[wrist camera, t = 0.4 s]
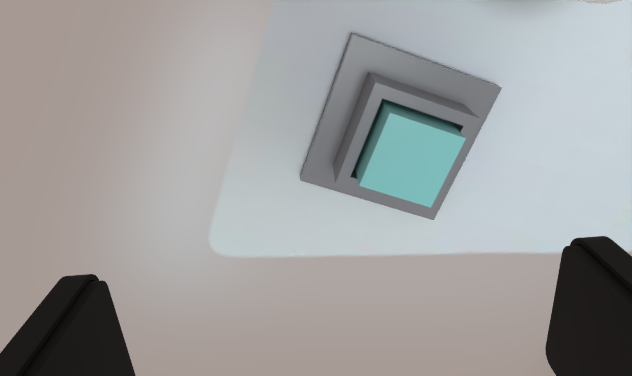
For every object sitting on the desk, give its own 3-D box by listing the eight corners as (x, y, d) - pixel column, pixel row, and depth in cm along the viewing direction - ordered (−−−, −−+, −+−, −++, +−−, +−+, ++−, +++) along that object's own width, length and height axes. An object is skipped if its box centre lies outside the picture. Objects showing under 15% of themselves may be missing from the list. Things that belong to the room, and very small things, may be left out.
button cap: (381, 98, 38) (390, 113, 35) (451, 122, 39) (466, 138, 36) (354, 166, 41) (359, 185, 37) (420, 186, 42) (430, 207, 38)
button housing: (351, 32, 39) (357, 41, 35) (496, 85, 42) (521, 100, 37) (300, 175, 45) (300, 199, 40) (430, 214, 47) (444, 241, 43)
